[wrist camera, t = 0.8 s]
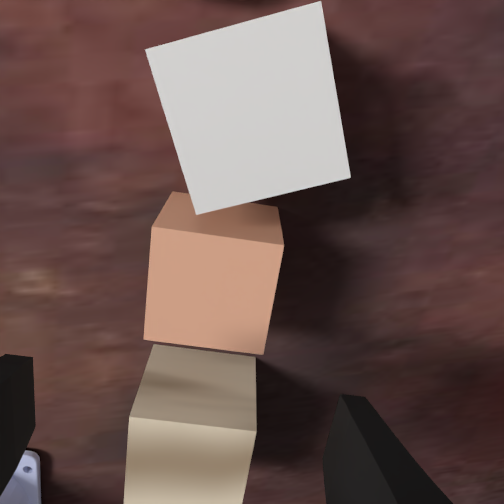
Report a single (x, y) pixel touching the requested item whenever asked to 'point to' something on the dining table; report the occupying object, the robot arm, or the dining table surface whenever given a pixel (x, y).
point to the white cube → (253, 108)
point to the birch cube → (191, 428)
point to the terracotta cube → (213, 275)
